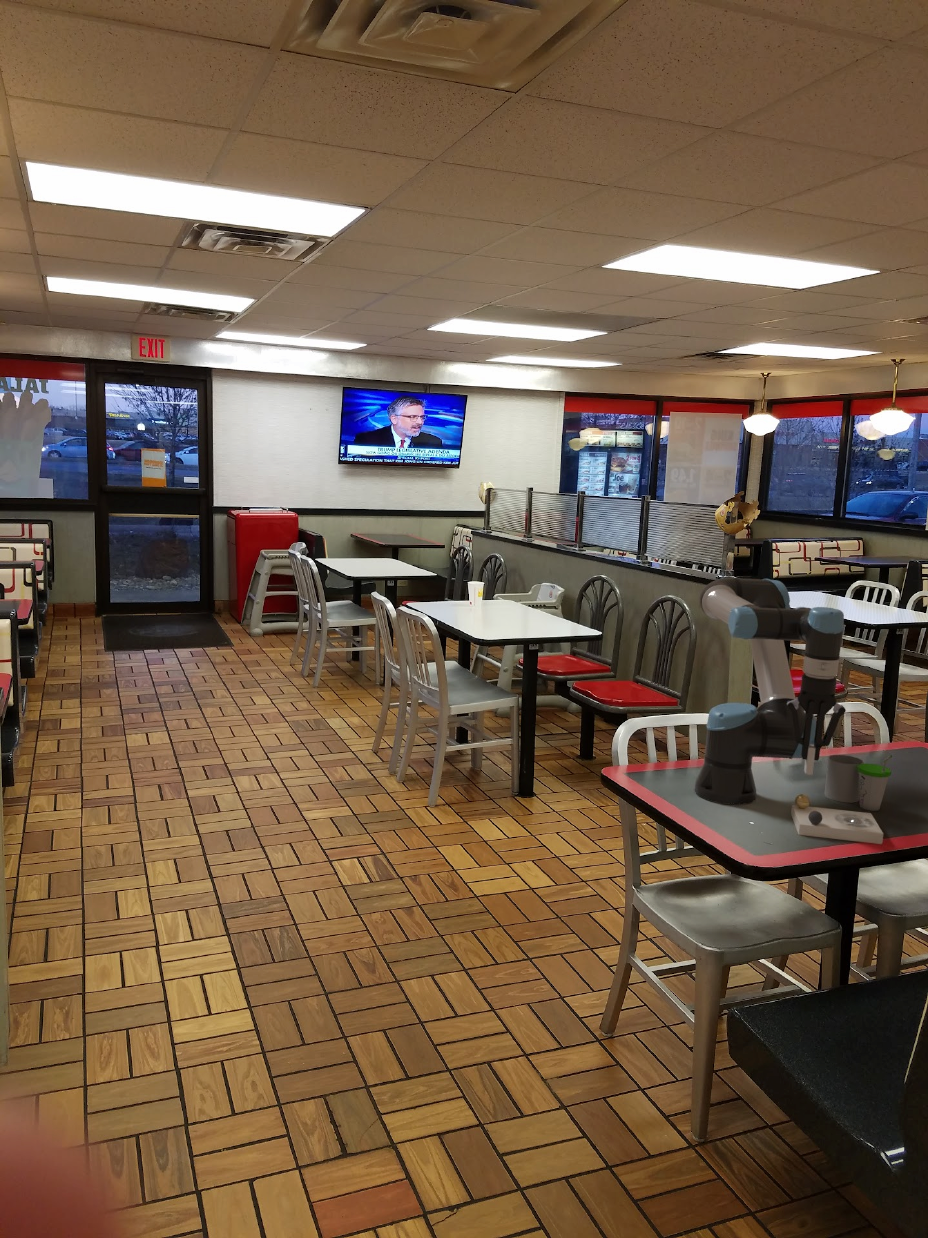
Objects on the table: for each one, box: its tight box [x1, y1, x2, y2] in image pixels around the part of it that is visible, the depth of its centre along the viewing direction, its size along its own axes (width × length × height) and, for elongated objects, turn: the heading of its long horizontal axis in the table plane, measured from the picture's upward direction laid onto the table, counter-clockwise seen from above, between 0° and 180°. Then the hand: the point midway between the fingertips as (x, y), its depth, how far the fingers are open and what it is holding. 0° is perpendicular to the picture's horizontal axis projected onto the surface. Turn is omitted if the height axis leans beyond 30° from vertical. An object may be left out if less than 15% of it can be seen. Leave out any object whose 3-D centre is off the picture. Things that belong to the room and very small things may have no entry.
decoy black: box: [808, 811, 822, 824], centre depth 214 cm, size 3×3×3 cm
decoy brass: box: [794, 793, 811, 809], centre depth 224 cm, size 3×3×3 cm
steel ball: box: [849, 818, 863, 824], centre depth 217 cm, size 3×3×3 cm
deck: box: [790, 804, 884, 845], centre depth 218 cm, size 18×13×2 cm
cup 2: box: [857, 754, 893, 812], centre depth 232 cm, size 8×8×15 cm
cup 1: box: [824, 754, 865, 803], centre depth 240 cm, size 8×8×10 cm
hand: (808, 772), depth 218 cm, fingers closed
